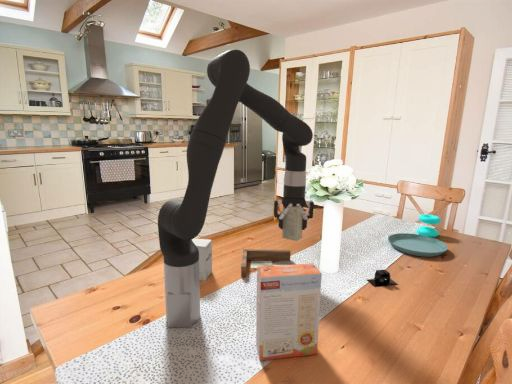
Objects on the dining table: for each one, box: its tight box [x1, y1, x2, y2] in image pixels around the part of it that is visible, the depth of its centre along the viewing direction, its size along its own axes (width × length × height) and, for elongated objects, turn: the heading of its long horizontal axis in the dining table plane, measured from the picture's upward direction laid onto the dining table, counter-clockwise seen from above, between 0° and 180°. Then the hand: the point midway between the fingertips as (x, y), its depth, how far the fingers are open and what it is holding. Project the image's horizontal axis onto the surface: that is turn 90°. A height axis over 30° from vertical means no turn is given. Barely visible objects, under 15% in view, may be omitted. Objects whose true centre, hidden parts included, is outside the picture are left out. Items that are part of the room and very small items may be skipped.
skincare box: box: [281, 205, 304, 242], centre depth 107 cm, size 6×4×12 cm
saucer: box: [387, 232, 448, 258], centre depth 138 cm, size 24×24×3 cm
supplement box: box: [192, 237, 213, 282], centre depth 107 cm, size 7×7×13 cm
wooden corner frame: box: [240, 248, 292, 278], centre depth 115 cm, size 16×19×4 cm
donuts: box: [416, 213, 442, 238], centre depth 156 cm, size 10×10×10 cm
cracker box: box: [255, 263, 322, 361], centre depth 71 cm, size 14×6×21 cm, turn 99°
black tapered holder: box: [366, 269, 400, 288], centre depth 106 cm, size 12×7×5 cm, turn 102°
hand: (292, 228), depth 107 cm, fingers closed on skincare box, 7 cm apart
